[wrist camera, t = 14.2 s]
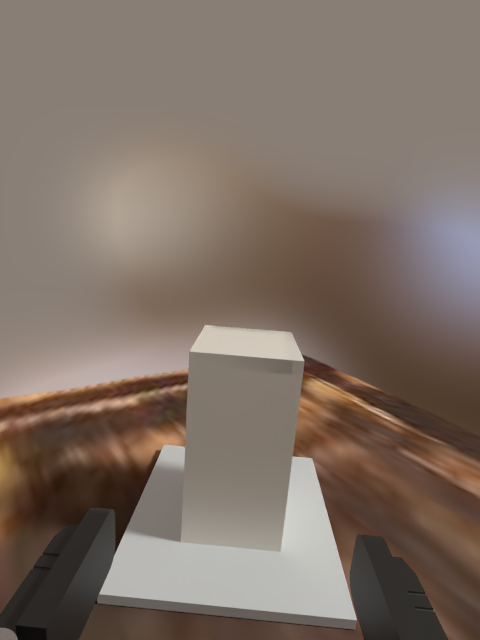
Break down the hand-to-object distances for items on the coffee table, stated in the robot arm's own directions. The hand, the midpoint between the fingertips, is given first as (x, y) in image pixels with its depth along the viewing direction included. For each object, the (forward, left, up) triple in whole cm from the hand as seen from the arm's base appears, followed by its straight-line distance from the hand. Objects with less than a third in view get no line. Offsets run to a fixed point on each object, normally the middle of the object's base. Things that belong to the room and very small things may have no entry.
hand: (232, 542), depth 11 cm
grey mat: (-8, -6, -9) cm, 14 cm away
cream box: (-8, -6, -8) cm, 13 cm away
